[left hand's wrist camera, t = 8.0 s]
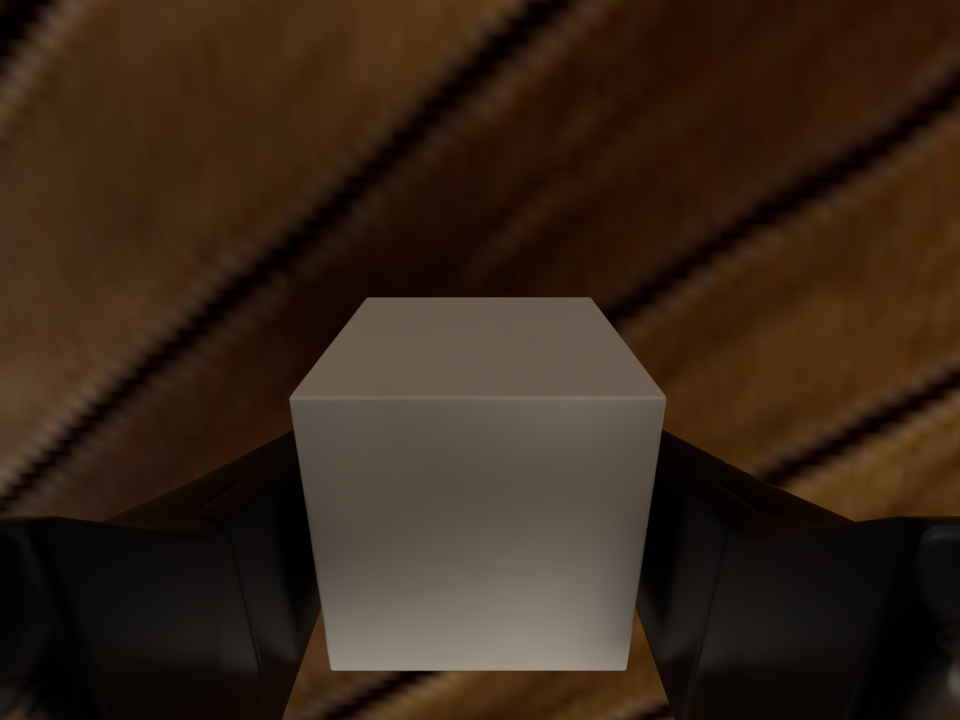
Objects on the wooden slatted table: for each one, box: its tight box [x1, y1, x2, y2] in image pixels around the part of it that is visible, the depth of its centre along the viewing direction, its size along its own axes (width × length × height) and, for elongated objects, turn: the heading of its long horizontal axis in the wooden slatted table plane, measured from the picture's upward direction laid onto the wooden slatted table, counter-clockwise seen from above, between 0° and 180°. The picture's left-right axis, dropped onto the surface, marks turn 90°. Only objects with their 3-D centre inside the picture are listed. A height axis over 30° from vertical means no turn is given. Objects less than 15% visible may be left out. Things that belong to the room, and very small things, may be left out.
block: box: [289, 297, 666, 670], centre depth 10 cm, size 5×5×5 cm
